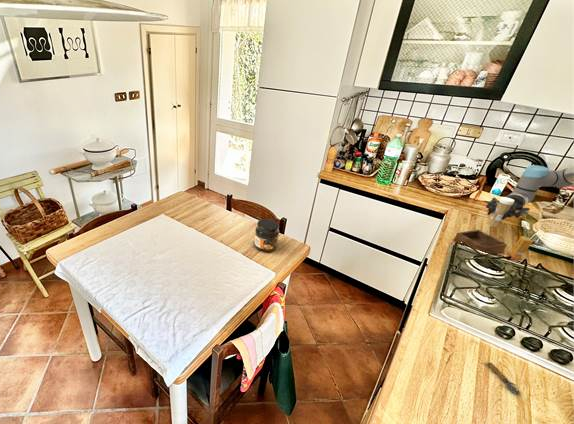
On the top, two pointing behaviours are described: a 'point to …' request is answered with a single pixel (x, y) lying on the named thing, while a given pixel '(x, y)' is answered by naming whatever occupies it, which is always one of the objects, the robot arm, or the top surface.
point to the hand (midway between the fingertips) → (496, 214)
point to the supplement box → (520, 247)
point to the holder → (481, 241)
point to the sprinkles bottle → (500, 211)
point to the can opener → (509, 384)
